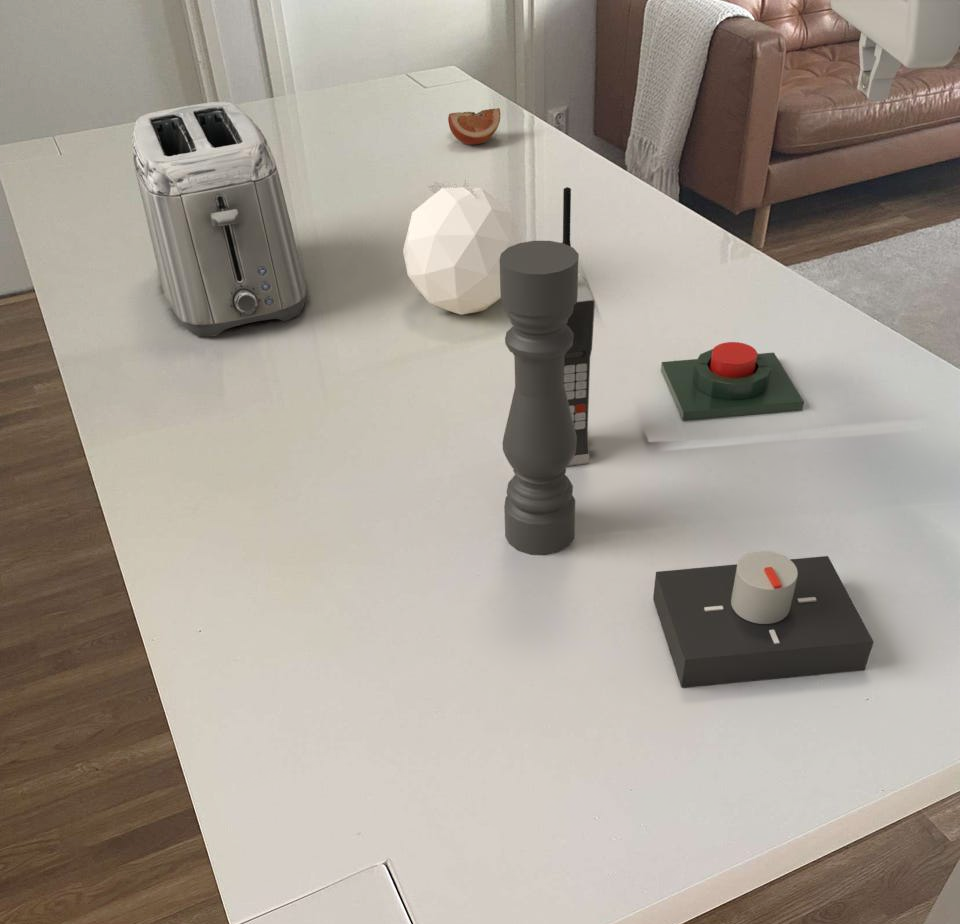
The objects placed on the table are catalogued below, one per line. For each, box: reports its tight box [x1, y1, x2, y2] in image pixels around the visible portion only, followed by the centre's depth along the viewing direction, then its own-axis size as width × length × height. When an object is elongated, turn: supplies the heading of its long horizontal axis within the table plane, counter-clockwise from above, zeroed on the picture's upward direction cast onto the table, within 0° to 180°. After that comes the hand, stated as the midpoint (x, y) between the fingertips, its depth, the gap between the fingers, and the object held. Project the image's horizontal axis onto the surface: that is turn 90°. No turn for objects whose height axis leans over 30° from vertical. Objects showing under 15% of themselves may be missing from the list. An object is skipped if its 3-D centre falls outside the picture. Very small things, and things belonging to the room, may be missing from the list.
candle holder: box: [500, 240, 580, 556], centre depth 81 cm, size 6×6×25 cm
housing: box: [660, 348, 805, 422], centre depth 102 cm, size 12×10×4 cm
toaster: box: [131, 101, 307, 338], centre depth 121 cm, size 17×30×19 cm, turn 19°
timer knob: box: [731, 550, 798, 624], centre depth 76 cm, size 4×4×4 cm
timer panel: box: [652, 555, 874, 689], centre depth 78 cm, size 14×10×3 cm
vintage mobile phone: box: [562, 186, 596, 467], centre depth 89 cm, size 4×5×25 cm
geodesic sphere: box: [402, 180, 523, 316], centre depth 117 cm, size 15×14×14 cm
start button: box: [710, 341, 758, 378], centre depth 101 cm, size 4×4×2 cm
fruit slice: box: [447, 107, 501, 145], centre depth 160 cm, size 8×7×5 cm
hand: (871, 96), depth 87 cm, fingers closed
